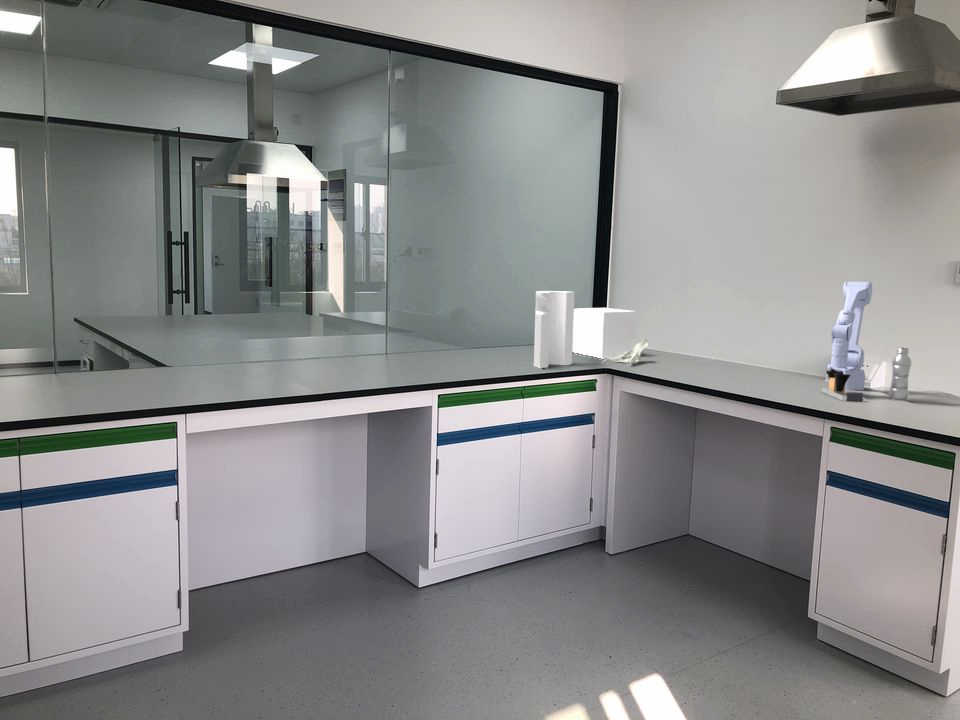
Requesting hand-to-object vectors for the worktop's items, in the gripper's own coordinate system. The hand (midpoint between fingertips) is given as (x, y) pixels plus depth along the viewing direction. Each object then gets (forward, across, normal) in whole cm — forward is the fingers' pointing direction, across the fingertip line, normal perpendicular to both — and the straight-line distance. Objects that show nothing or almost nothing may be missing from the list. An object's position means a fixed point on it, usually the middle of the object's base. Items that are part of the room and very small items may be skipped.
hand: (836, 390), depth 297 cm
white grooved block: (+2, -66, -106) cm, 125 cm away
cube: (+3, -106, -74) cm, 130 cm away
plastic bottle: (+2, +8, +20) cm, 21 cm away
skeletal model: (+3, -78, -65) cm, 102 cm away
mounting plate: (+2, +6, -1) cm, 7 cm away
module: (+1, 0, 0) cm, 1 cm away
